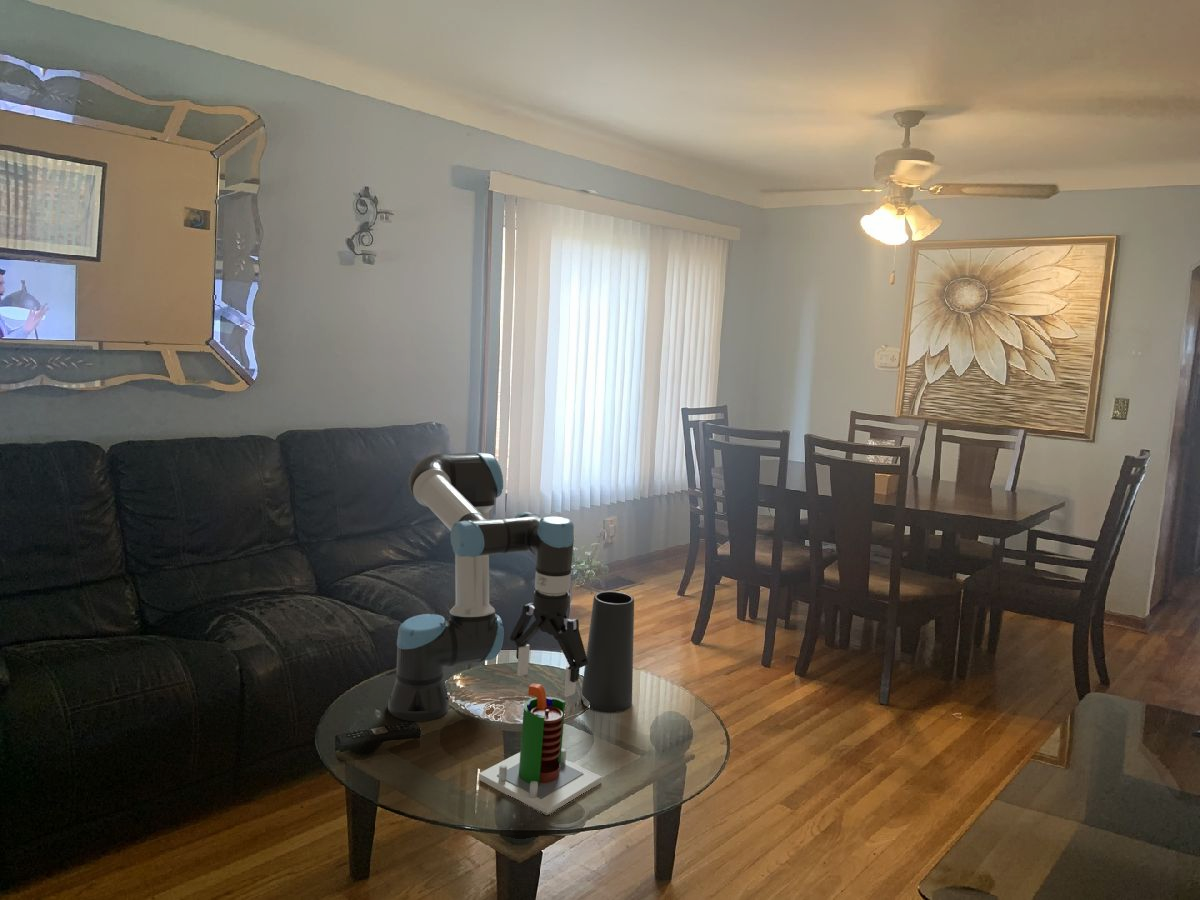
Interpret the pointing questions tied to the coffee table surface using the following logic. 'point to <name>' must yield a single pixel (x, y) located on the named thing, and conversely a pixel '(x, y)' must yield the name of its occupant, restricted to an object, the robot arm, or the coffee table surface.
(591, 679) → the vase
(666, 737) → the coffee table surface
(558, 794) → the mounting board
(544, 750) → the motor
